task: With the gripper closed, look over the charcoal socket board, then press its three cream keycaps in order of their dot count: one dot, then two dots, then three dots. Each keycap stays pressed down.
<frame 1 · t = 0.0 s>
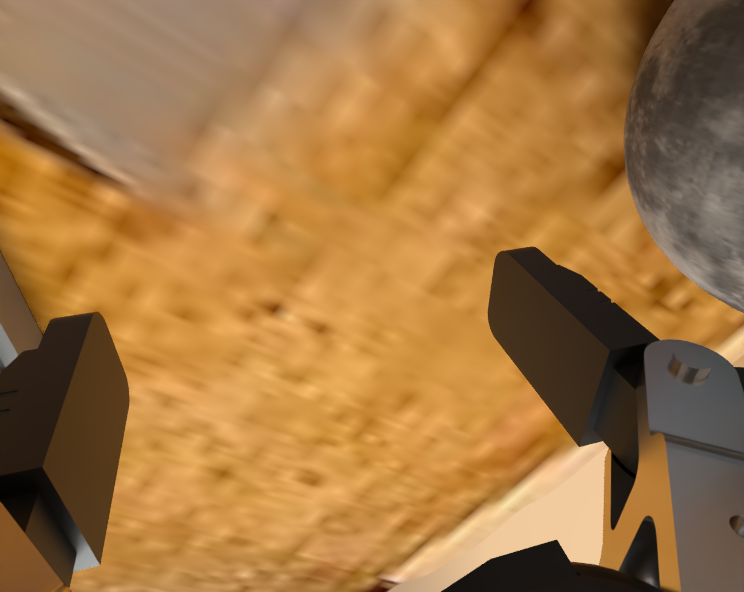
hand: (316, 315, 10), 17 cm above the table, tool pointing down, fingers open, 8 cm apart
moon model: (700, 64, 29), on the table
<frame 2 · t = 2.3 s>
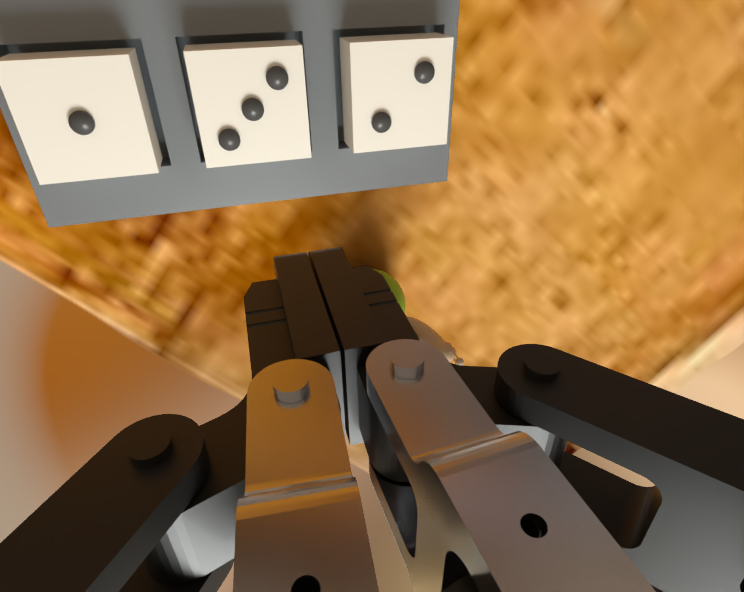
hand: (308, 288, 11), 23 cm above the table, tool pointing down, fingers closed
snail figurine: (365, 282, 40), on the table
tile two dots: (395, 93, 28), point 4 cm above the table, slide at 0.0 cm
socket board: (246, 88, 30), on the table
tile three dots: (251, 104, 27), point 4 cm above the table, slide at 0.0 cm
tile one dot: (87, 116, 25), point 4 cm above the table, slide at 0.0 cm
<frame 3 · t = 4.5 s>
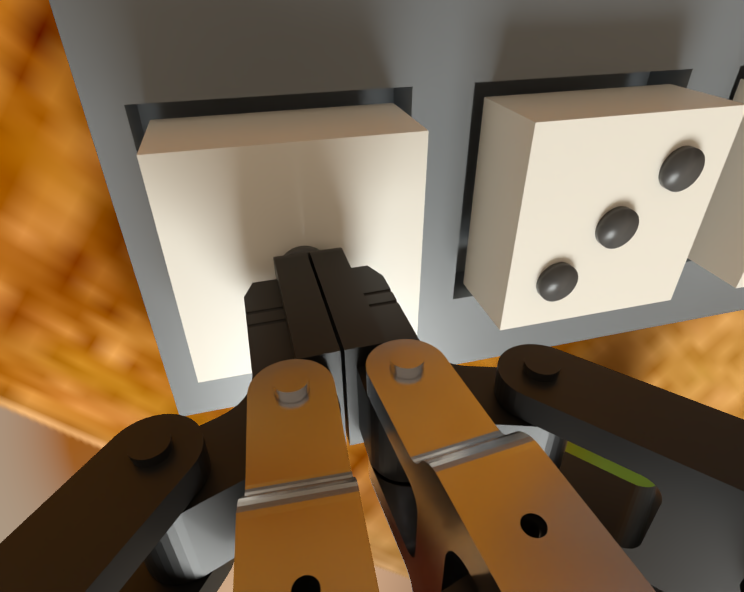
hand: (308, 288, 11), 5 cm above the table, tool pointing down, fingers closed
snail figurine: (587, 419, 27), on the table
socket board: (514, 160, 17), on the table
tile three dots: (587, 208, 14), point 4 cm above the table, slide at 0.0 cm
tile one dot: (296, 244, 12), point 4 cm above the table, slide at 0.1 cm, touching gripper
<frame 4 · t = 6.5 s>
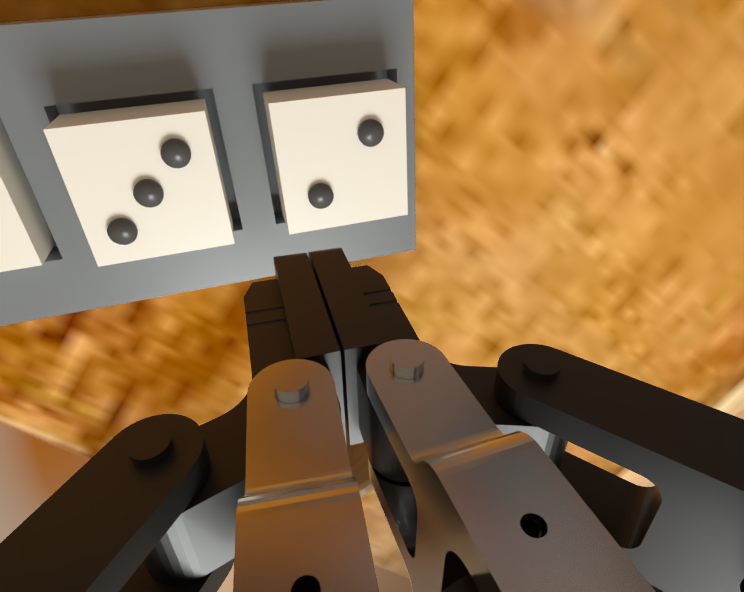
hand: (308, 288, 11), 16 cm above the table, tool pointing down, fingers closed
snail figurine: (331, 360, 34), on the table
tile two dots: (338, 156, 22), point 4 cm above the table, slide at 0.0 cm
socket board: (159, 155, 24), on the table
tile three dots: (151, 183, 21), point 4 cm above the table, slide at 0.0 cm
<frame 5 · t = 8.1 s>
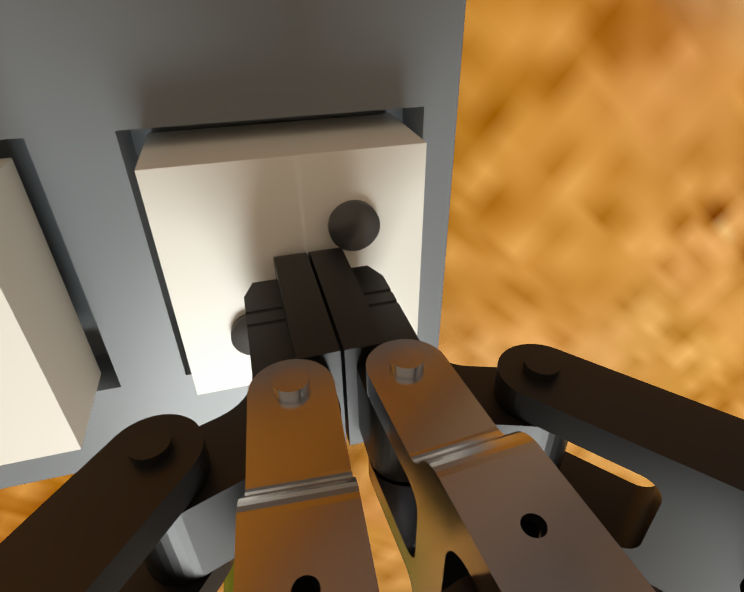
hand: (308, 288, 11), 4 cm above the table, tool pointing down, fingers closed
tile two dots: (295, 255, 12), point 3 cm above the table, slide at 1.0 cm, touching gripper
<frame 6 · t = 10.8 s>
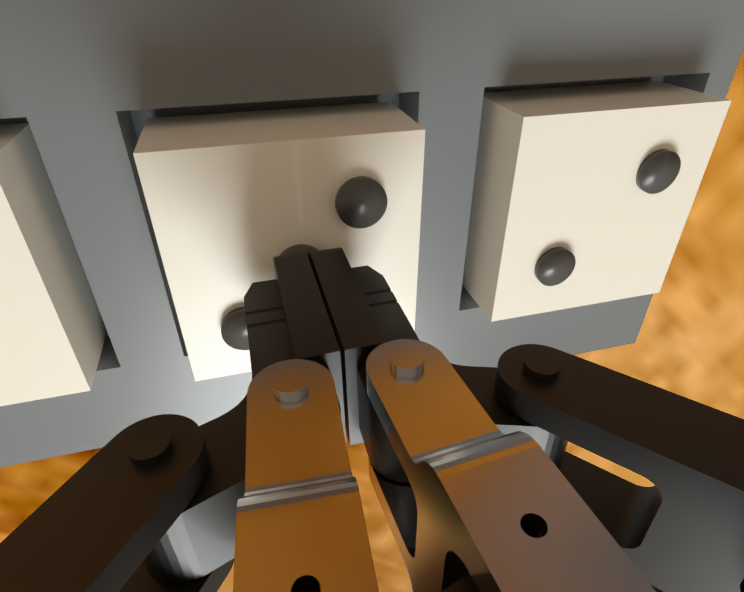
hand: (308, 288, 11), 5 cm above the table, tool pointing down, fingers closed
tile two dots: (576, 202, 14), point 3 cm above the table, slide at 1.1 cm
socket board: (278, 191, 15), on the table
tile three dots: (293, 243, 12), point 3 cm above the table, slide at 0.8 cm, touching gripper
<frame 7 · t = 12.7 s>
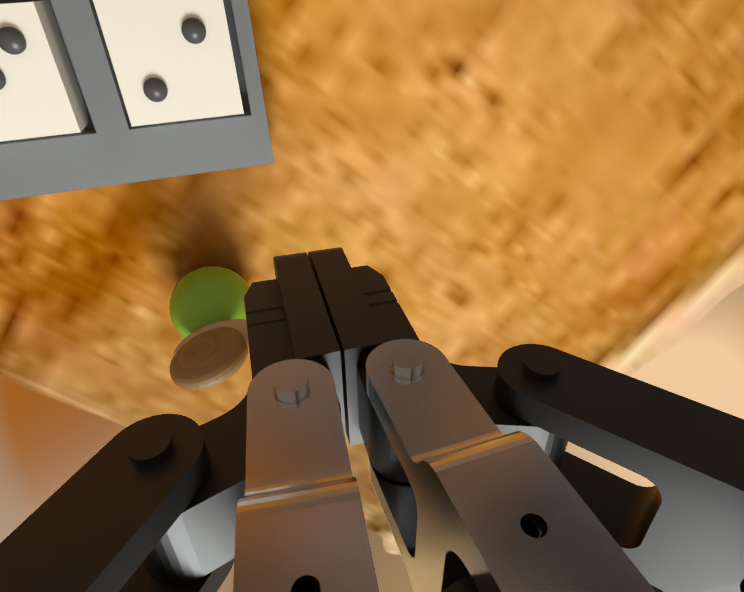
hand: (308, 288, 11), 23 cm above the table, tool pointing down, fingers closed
snail figurine: (219, 282, 36), on the table
tile two dots: (175, 57, 25), point 3 cm above the table, slide at 1.1 cm
socket board: (20, 64, 26), on the table
tile three dots: (0, 73, 24), point 3 cm above the table, slide at 1.1 cm
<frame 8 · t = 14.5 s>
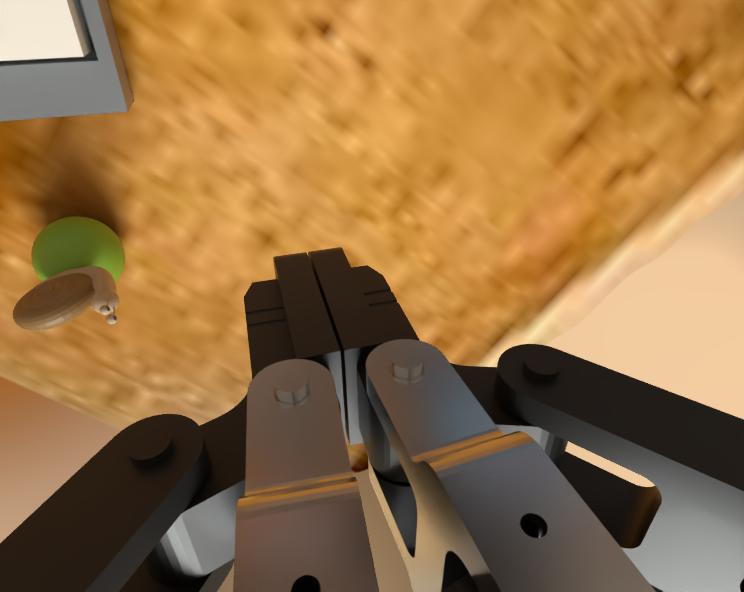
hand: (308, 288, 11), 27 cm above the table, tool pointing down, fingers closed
snail figurine: (95, 235, 36), on the table
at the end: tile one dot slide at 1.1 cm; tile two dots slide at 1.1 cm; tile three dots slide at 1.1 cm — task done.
